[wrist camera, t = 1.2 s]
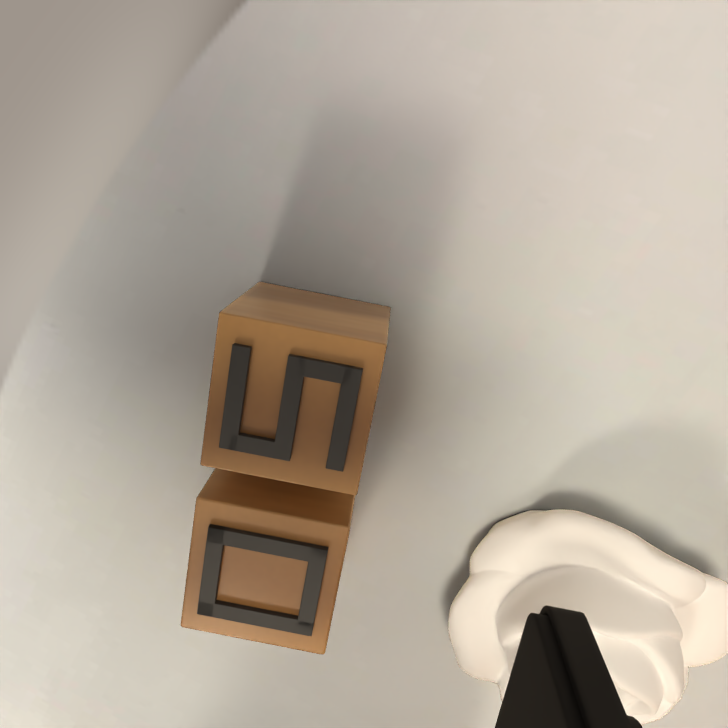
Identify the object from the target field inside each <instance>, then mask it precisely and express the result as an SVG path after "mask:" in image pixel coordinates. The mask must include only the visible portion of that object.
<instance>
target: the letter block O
mask: <svg viewBox="0 0 728 728" xmlns="http://www.w3.org/2000/svg"><path fill="white" fill-rule="evenodd" d="M354 500H355V495H351V494H346V493H341V492H336V491H330V490H325V489H320V488H315V487H310V486H305V485H300V484H295V483H289V482H284V481H279V480H274V479H269V478H264V477H259V476H254V475H248V474H243V473H238V472H233V471H228V470H223V469H218V468H215V470H214V471H213V473H212V474H211V476H210V478H209V479H208V481H207V482H206V484H205V485H204V487H203V489H202V490H201V492H200V493H199V495H198V496H197V498H196V505H195V513H194V521H193V529H192V537H191V545H190V553H189V562H188V570H187V578H186V586H185V594H184V602H183V610H182V618H181V626H182V627H185V628H190V629H195V630H200V631H205V632H211V633H216V634H221V635H226V636H231V637H236V638H241V639H246V640H251V641H256V642H261V643H267V644H272V645H277V646H282V647H287V648H292V649H297V650H302V651H307V652H312V653H317V654H324V653H325V651H326V646H327V641H328V636H329V631H330V626H331V621H332V616H333V611H334V606H335V601H336V596H337V591H338V586H339V581H340V576H341V571H342V566H343V561H344V556H345V551H346V546H347V541H348V536H349V531H350V526H351V519H352V513H353V506H354Z"/></svg>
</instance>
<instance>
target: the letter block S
mask: <svg viewBox="0 0 728 728" xmlns="http://www.w3.org/2000/svg"><path fill="white" fill-rule="evenodd" d="M390 311H391V308H390V307H388V306H383V305H378V304H372V303H367V302H362V301H357V300H352V299H347V298H341V297H336V296H331V295H326V294H321V293H316V292H310V291H305V290H300V289H295V288H290V287H285V286H280V285H274V284H269V283H264V282H258V283H257V284H256V285H254V286H253V287H252V288H250V289H249V290H248V291H247V292H245V293H244V294H243V295H241V296H240V297H239V298H237V299H236V300H235V301H234V302H232V303H231V304H230V305H228V306H227V307H226V308H224V309H223V310H222V311H221V312H220V313H219V318H218V326H217V334H216V342H215V350H214V358H213V366H212V375H211V383H210V391H209V399H208V407H207V415H206V423H205V431H204V439H203V447H202V455H201V465H202V466H207V467H213V468H218V469H223V470H228V471H233V472H238V473H243V474H248V475H254V476H259V477H264V478H269V479H274V480H279V481H284V482H289V483H295V484H300V485H305V486H310V487H315V488H320V489H325V490H330V491H336V492H341V493H346V494H351V495H357V492H358V487H359V482H360V477H361V472H362V467H363V462H364V457H365V452H366V447H367V442H368V437H369V432H370V427H371V422H372V417H373V412H374V407H375V403H376V398H377V393H378V388H379V383H380V378H381V373H382V368H383V363H384V358H385V353H386V348H387V340H388V330H389V321H390Z"/></svg>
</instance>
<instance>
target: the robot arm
mask: <svg viewBox="0 0 728 728" xmlns="http://www.w3.org/2000/svg"><path fill="white" fill-rule="evenodd" d="M495 728H642V726H641V724H640V723H639V721H638V720H636V719H635V718H634V717H633V716H628V715H627V714H626V712H625V710H624V707H623V705H622V702H621V700H620V697H619V695H618V693H617V690H616V688H615V685H614V683H613V681H612V678H611V676H610V673H609V671H608V668H607V666H606V664H605V661H604V659H603V656H602V654H601V652H600V649H599V647H598V644H597V642H596V639H595V637H594V635H593V632H592V630H591V627H590V625H589V623H588V620H587V618H586V616H585V614H584V613H582V612H579V611H573V610H568V609H563V608H558V607H553V606H548V605H546V606H544V607H543V608H542V610H541V611H540V614H537V613H530V614H529V615H528V617H527V620H526V623H525V626H524V630H523V633H522V637H521V640H520V643H519V647H518V650H517V654H516V657H515V661H514V664H513V667H512V671H511V674H510V678H509V681H508V685H507V688H506V691H505V695H504V698H503V702H502V705H501V709H500V712H499V715H498V719H497V722H496V726H495Z"/></svg>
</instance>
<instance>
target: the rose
mask: <svg viewBox="0 0 728 728" xmlns="http://www.w3.org/2000/svg"><path fill="white" fill-rule="evenodd" d="M546 605H548V606H553V607H558V608H563V609H568V610H573V611H579V612H582V613H584V614H585V616H586V618H587V620H588V623H589V625H590V627H591V630H592V632H593V635H594V637H595V639H596V642H597V644H598V647H599V649H600V652H601V654H602V656H603V659H604V661H605V664H606V666H607V668H608V671H609V673H610V676H611V678H612V681H613V683H614V685H615V688H616V690H617V693H618V695H619V697H620V700H621V702H622V705H623V707H624V710H625V712H626V714H627V715H628V716H633V717H634V718H635V719H636V720H638V721H639V723H640V724H645V723H649V722H653V721H656V720H658V719H660V718H662V717H664V716H665V715H666V714H667V713H668V712H669V711H670V710H671V709H672V708H673V706H674V705H675V704H676V703H677V702H679V701H680V700H681V698H682V695H683V692H684V690H685V689H686V686H687V682H688V674H689V666H690V667H694V666H702V665H706V664H709V663H712V662H714V661H717V660H718V659H720V658H722V657H723V656H724V655H726V654H727V653H728V583H727V582H725V581H723V580H721V579H719V578H716V577H714V576H711V575H708V574H705V573H703V572H700V571H699V570H698V569H696V568H694V567H692V566H690V565H688V564H686V563H684V562H682V561H680V560H678V559H676V558H674V557H672V556H670V555H668V554H666V553H664V552H663V551H661V550H659V549H658V548H656V547H654V546H653V545H651V544H649V543H648V542H646V541H645V540H643V539H642V538H641V537H639V536H637V535H636V534H634V533H632V532H631V531H629V530H627V529H625V528H622V527H620V526H618V525H615V524H613V523H611V522H609V521H606V520H603V519H600V518H597V517H595V516H592V515H589V514H586V513H583V512H580V511H575V510H564V509H554V510H548V511H542V510H535V511H534V510H531V511H526V512H523V513H520V514H517V515H515V516H512V517H509V518H507V519H504V520H502V521H500V522H498V523H496V524H495V525H494V526H493V527H492V528H491V529H490V531H489V533H488V534H487V535H486V536H485V537H484V538H483V540H482V541H481V542H480V543H479V545H478V546H477V547H476V549H475V550H474V552H473V554H472V555H471V558H470V576H469V578H468V579H467V581H466V582H465V584H464V585H463V586H462V588H461V589H460V591H459V592H458V594H457V595H456V597H455V599H454V600H453V602H452V605H451V607H450V611H449V618H448V631H449V636H450V640H451V643H452V646H453V649H454V653H455V657H456V660H457V663H458V665H459V666H460V668H461V669H462V670H463V671H464V672H465V673H466V674H468V675H469V676H471V677H474V678H476V679H480V680H486V681H491V682H493V683H496V684H498V685H499V689H500V695H501V700H502V702H503V698H504V695H505V691H506V688H507V685H508V681H509V678H510V674H511V671H512V667H513V664H514V661H515V657H516V654H517V650H518V647H519V643H520V640H521V637H522V633H523V630H524V626H525V623H526V620H527V617H528V615H529V614H530V613H537V614H540V611H541V610H542V608H543V607H544V606H546Z"/></svg>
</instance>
